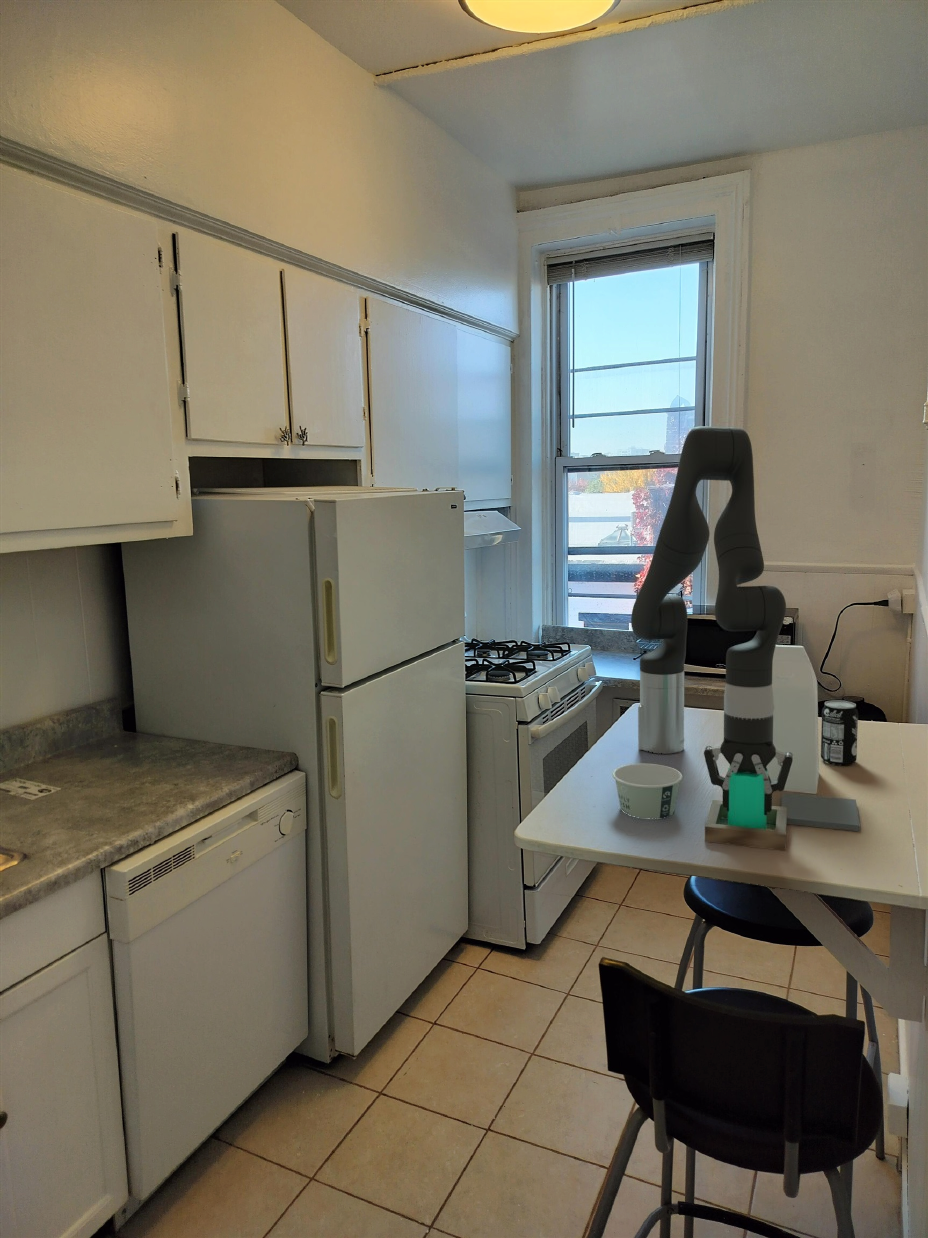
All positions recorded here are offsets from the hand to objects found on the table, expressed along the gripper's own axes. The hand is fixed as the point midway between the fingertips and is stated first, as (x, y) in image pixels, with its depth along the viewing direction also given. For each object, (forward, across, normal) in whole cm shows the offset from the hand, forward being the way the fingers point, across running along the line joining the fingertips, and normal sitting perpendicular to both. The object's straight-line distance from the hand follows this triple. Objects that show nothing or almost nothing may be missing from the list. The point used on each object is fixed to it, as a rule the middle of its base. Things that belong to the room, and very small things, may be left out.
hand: (747, 811), depth 137 cm
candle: (+4, 0, 0) cm, 4 cm away
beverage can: (+4, +15, +41) cm, 44 cm away
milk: (+4, +5, +27) cm, 28 cm away
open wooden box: (+3, 0, 0) cm, 3 cm away
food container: (+4, -17, +5) cm, 18 cm away
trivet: (+3, +11, +11) cm, 16 cm away
